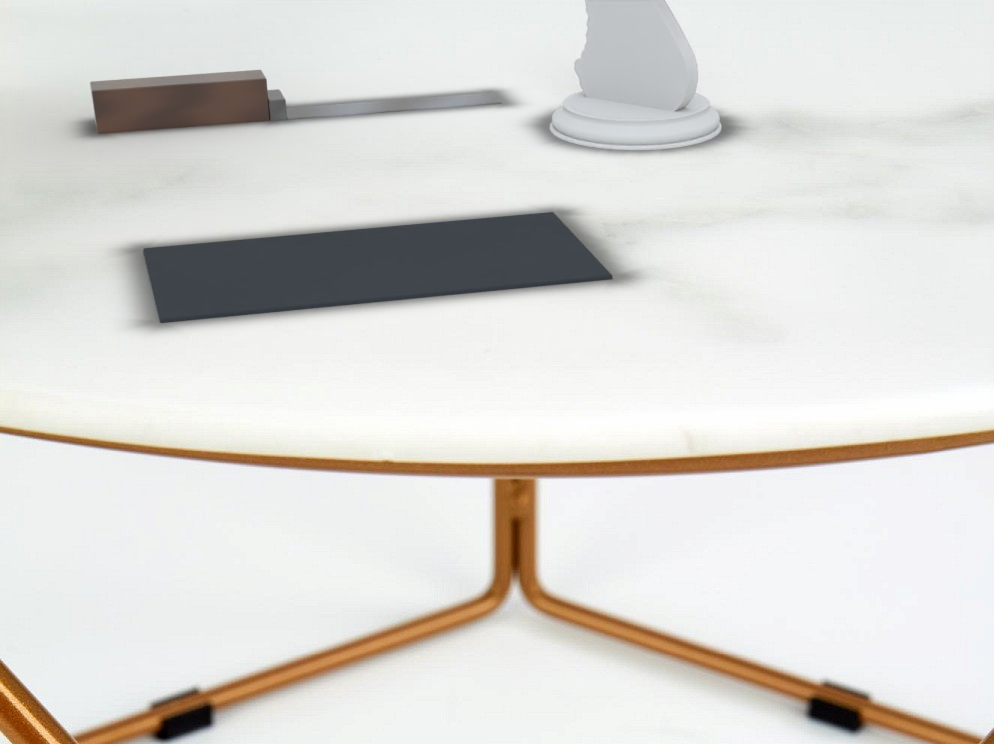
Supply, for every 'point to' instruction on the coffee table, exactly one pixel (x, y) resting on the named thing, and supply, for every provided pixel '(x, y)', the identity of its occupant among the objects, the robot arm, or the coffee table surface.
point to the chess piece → (635, 82)
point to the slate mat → (366, 266)
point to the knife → (227, 102)
